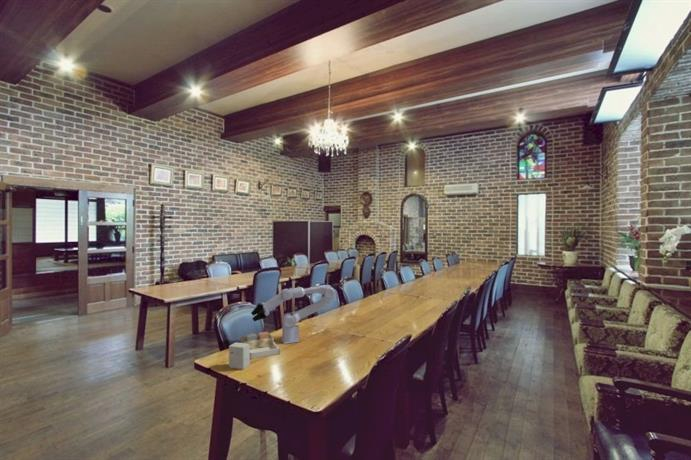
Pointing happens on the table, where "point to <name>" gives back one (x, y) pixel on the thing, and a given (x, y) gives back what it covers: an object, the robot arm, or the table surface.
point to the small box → (239, 355)
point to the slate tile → (251, 337)
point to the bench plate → (258, 342)
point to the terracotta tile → (263, 335)
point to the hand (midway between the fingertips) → (252, 317)
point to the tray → (265, 351)
